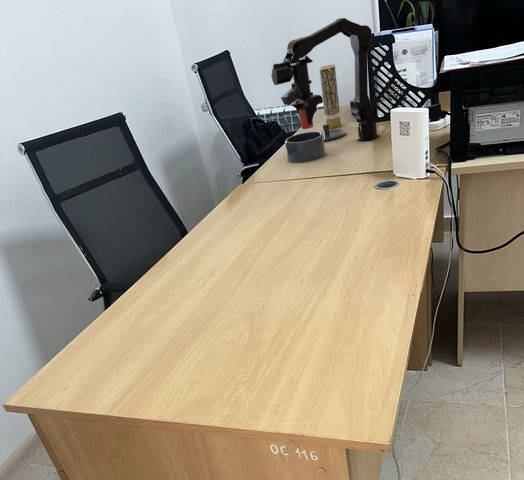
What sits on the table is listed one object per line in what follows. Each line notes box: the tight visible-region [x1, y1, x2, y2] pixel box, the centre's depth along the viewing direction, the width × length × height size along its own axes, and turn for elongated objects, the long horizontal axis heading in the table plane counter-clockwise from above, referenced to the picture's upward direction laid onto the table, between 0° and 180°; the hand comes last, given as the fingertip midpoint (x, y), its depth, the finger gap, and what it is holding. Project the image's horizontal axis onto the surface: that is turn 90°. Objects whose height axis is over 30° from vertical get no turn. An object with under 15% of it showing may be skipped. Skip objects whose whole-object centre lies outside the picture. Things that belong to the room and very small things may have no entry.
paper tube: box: [318, 63, 342, 129], centre depth 240 cm, size 7×7×25 cm
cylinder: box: [299, 108, 314, 130], centre depth 205 cm, size 4×4×7 cm
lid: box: [320, 123, 347, 142], centre depth 231 cm, size 16×16×5 cm
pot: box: [284, 131, 326, 164], centre depth 210 cm, size 15×15×8 cm
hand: (307, 123), depth 206 cm, fingers closed on cylinder, 4 cm apart
